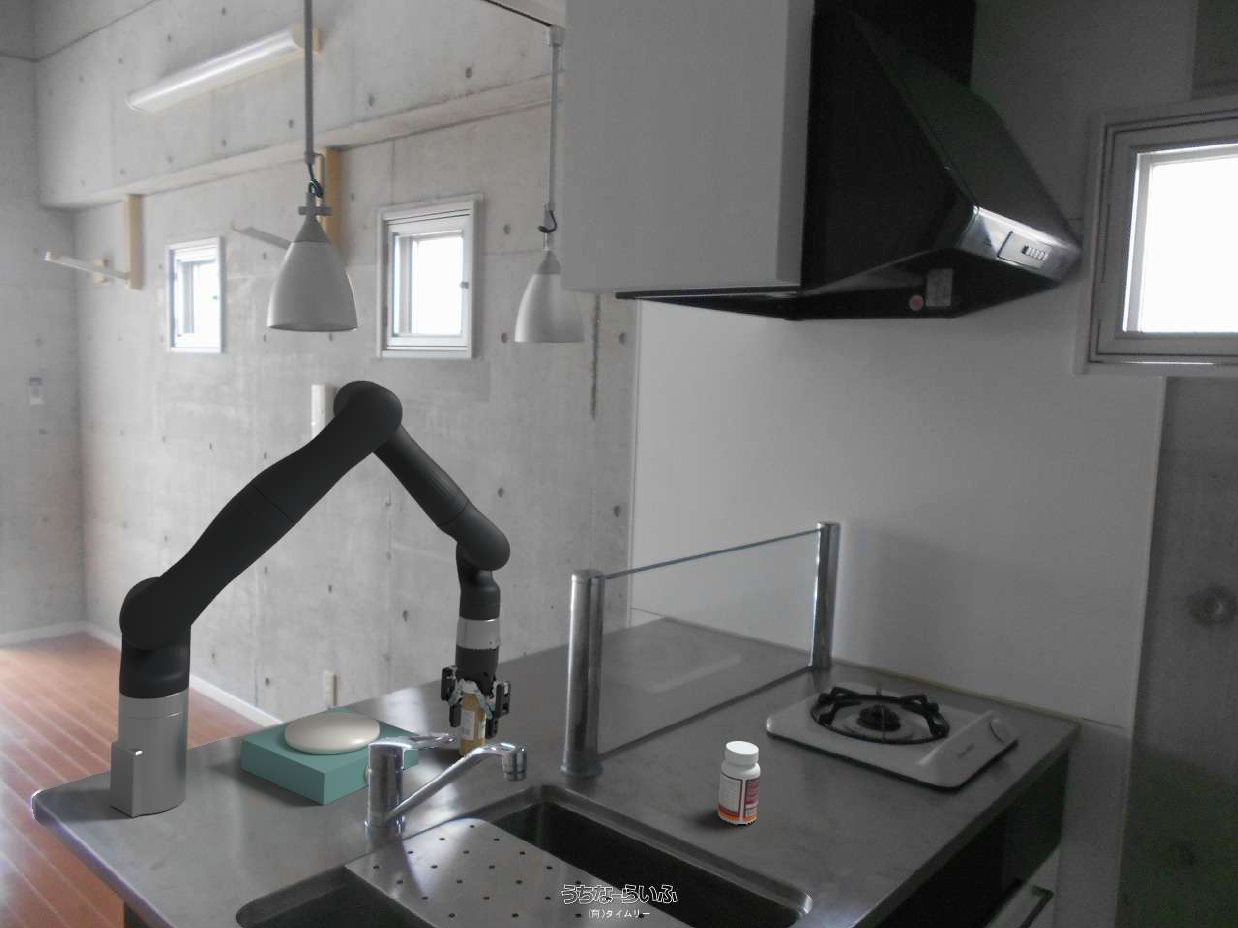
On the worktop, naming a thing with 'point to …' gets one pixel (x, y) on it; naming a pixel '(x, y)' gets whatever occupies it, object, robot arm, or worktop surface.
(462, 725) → the sprinkles bottle
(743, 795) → the pill bottle
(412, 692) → the worktop surface
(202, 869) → the worktop surface
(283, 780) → the scale
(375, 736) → the scale pan
